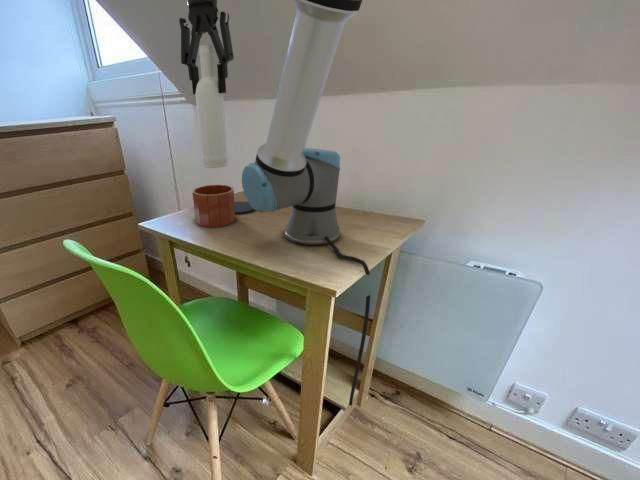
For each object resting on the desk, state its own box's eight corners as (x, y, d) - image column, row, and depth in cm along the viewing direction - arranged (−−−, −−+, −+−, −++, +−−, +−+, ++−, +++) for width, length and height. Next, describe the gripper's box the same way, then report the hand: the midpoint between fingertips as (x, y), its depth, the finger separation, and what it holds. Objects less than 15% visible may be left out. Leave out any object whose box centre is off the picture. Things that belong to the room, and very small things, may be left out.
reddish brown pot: (242, 221, 111) (241, 190, 106) (207, 230, 106) (204, 197, 100) (222, 211, 121) (220, 182, 115) (189, 219, 115) (185, 189, 110)
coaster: (263, 208, 121) (263, 207, 121) (232, 216, 116) (232, 214, 115) (243, 201, 131) (243, 199, 130) (214, 207, 125) (214, 206, 125)
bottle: (229, 162, 108) (222, 46, 92) (226, 167, 102) (218, 43, 86) (204, 163, 109) (193, 48, 93) (200, 168, 103) (187, 45, 87)
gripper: (245, -20, 82) (248, 91, 94) (175, -6, 90) (186, 94, 102) (230, -27, 76) (235, 92, 88) (158, -12, 85) (171, 95, 97)
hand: (209, 93), depth 95 cm, fingers closed on bottle, 8 cm apart
